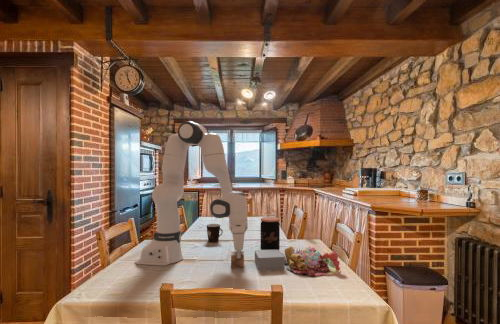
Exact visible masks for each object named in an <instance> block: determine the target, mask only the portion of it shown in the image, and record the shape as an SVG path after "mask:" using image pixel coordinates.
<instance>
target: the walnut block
mask: <svg viewBox="0 0 500 324" xmlns="http://www.w3.org/2000/svg"><path fill="white" fill-rule="evenodd" d="M230 268H231V269H244V268H245V251H244V250H241V258H237V252H236V250H233V251H231V252H230Z"/></svg>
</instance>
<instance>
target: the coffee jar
mask: <svg viewBox="0 0 500 324" xmlns="http://www.w3.org/2000/svg"><path fill="white" fill-rule="evenodd" d="M280 220H281V219H280V218H279V217H275V216H265V217H261V218H260V250H274V249H278V250H279V251H280V245H281V244H280V241H281V240H280V239H281V238H280V232H281V231H280V226H281V225H280V224H281V223H280Z"/></svg>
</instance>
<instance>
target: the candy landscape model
mask: <svg viewBox="0 0 500 324" xmlns="http://www.w3.org/2000/svg"><path fill="white" fill-rule="evenodd" d="M284 255H285V256H284V257H285V258H286V261H285V260H284V264H286V269H287V270H289V271H292V272H293V273H294V274H299V275H300V274H301V276H303V275H307V276H308V277H319V276H335V275H339V274H340V273H341V271H342V270H341V267H340V260H338V259H339V256H338V253H336V252H335V251H331V252H330V253H328V252H324V253H323V254H321V252H320V251H319V250H318V249H316V248H315V246H310V245H309V246H308V247H304V248H303V249H301V248H299V250H298V248H296V250H295V249H294V247H293V246H288V247H286V248H285V249H284Z"/></svg>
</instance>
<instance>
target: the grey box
mask: <svg viewBox="0 0 500 324" xmlns="http://www.w3.org/2000/svg"><path fill="white" fill-rule="evenodd" d="M254 263H255V265H256V267H257V268H256V269H257V270H258V271H259V272H260V271H261V272H263V271H282V270H285V256H284V254H283V253H282V252H281V251H280V249H279V250H278V249H274V250H261V249H255V250H254Z"/></svg>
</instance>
